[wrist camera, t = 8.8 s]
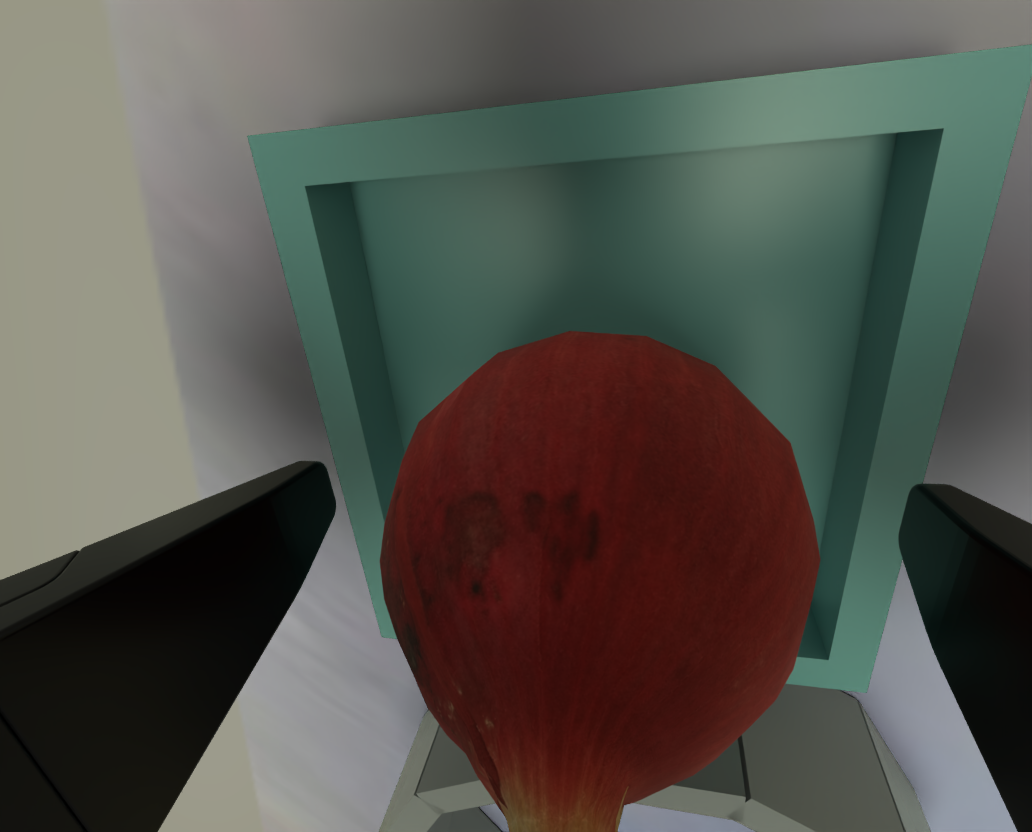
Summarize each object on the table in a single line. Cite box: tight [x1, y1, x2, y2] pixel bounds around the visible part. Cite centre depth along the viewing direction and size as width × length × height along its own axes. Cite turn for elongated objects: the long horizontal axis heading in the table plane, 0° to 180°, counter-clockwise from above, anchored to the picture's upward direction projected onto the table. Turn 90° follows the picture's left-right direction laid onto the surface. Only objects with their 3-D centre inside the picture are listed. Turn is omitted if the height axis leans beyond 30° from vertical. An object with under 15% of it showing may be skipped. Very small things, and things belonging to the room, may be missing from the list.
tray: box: [247, 44, 1032, 693], centre depth 11 cm, size 11×11×2 cm
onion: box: [380, 331, 820, 832], centre depth 8 cm, size 6×6×8 cm
